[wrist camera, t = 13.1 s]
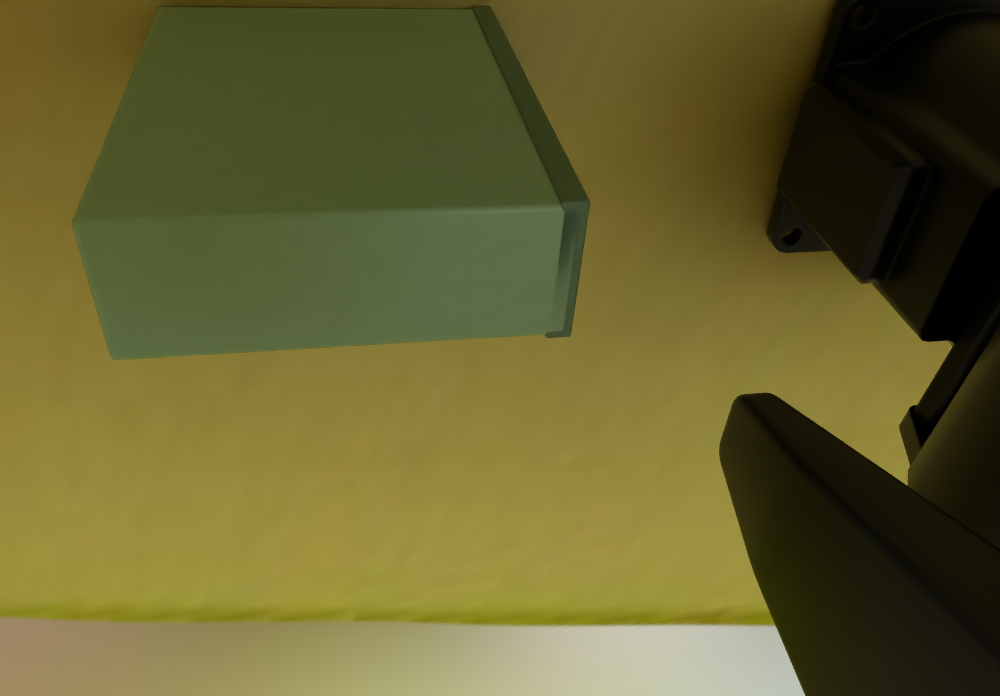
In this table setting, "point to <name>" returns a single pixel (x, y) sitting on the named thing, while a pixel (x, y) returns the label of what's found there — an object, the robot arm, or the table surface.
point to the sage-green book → (328, 186)
